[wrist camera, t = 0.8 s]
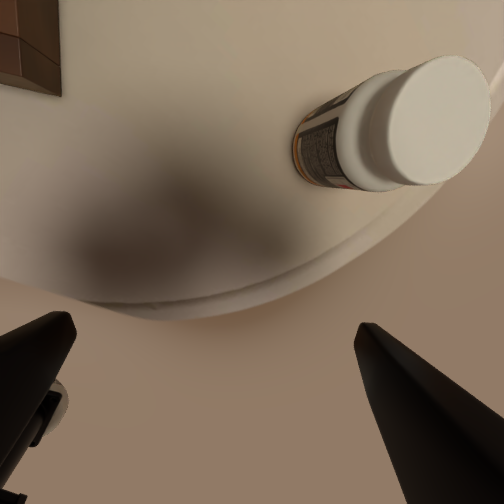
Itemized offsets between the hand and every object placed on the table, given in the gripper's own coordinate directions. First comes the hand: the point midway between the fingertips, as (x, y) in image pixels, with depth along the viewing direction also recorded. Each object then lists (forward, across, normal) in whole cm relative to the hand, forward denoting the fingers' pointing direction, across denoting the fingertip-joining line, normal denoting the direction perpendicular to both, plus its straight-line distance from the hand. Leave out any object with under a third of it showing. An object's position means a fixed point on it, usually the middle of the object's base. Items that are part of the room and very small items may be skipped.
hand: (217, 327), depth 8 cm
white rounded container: (+15, -6, -4) cm, 17 cm away
